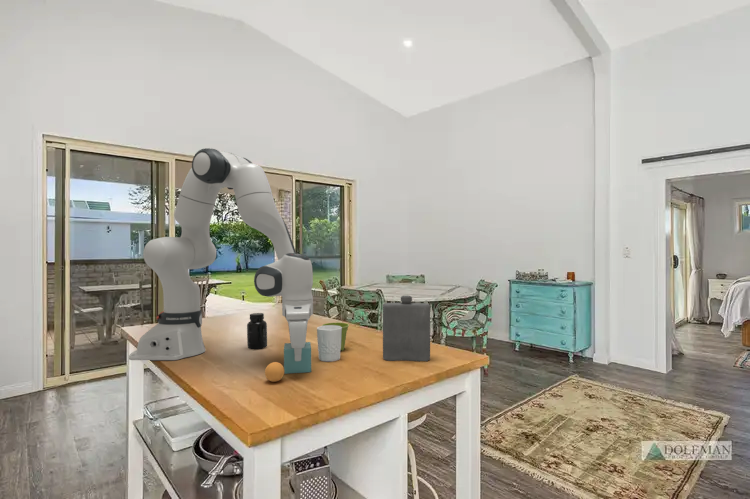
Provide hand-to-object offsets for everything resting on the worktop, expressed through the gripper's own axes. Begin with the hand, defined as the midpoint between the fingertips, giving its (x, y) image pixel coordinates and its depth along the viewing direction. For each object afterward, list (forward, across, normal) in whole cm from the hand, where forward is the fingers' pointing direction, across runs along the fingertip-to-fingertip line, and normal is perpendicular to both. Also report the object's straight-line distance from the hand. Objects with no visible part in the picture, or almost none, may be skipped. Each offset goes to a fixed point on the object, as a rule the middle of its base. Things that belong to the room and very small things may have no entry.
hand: (297, 356), depth 117 cm
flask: (+4, -4, +34) cm, 34 cm away
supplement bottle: (+4, -29, -14) cm, 32 cm away
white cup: (+4, -9, +10) cm, 14 cm away
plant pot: (+4, -20, +13) cm, 24 cm away
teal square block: (+4, 0, 0) cm, 4 cm away
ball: (+1, +10, -6) cm, 12 cm away
